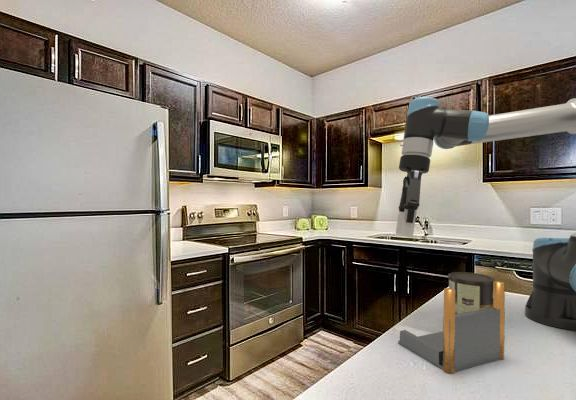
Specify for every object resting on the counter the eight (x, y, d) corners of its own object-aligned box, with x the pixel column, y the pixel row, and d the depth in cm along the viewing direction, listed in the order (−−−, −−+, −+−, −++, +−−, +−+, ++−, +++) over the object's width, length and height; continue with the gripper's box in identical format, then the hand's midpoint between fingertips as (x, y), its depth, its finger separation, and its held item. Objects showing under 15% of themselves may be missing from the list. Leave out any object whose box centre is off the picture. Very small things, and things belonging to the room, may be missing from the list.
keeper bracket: (449, 332, 81) (449, 269, 81) (506, 358, 68) (506, 283, 68) (397, 343, 75) (398, 274, 75) (449, 374, 62) (450, 291, 62)
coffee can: (484, 325, 86) (485, 272, 86) (501, 342, 76) (502, 282, 76) (443, 322, 88) (443, 270, 88) (454, 338, 78) (455, 280, 78)
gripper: (396, 163, 99) (385, 232, 98) (406, 143, 74) (392, 234, 74) (422, 166, 97) (411, 236, 96) (441, 147, 73) (427, 240, 72)
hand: (403, 235), depth 85 cm, fingers open, 13 cm apart
